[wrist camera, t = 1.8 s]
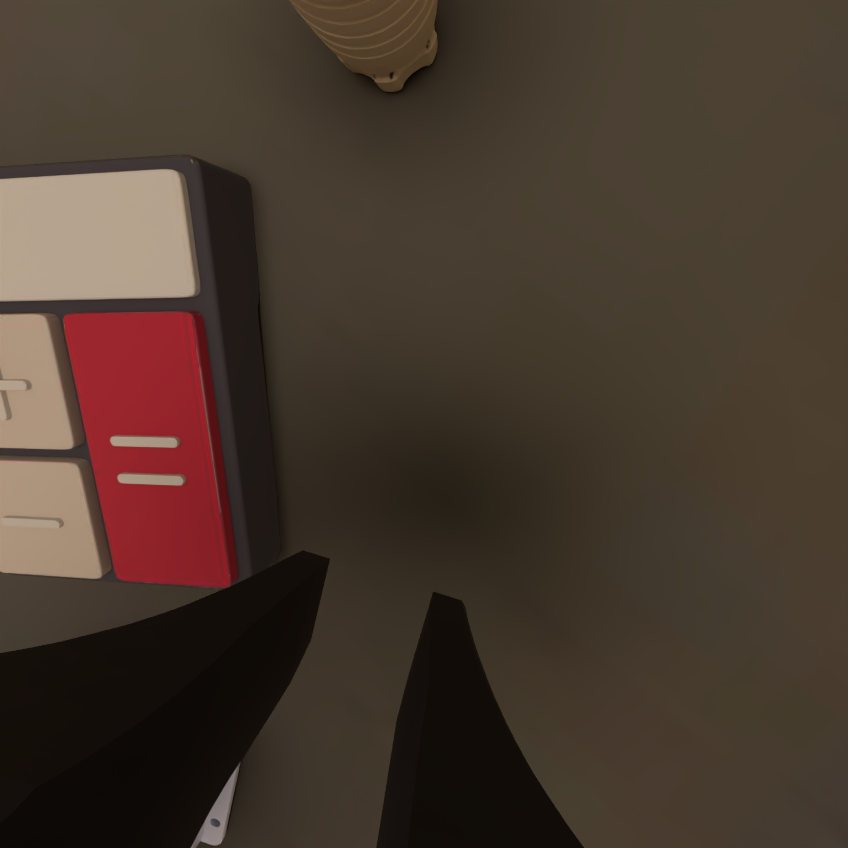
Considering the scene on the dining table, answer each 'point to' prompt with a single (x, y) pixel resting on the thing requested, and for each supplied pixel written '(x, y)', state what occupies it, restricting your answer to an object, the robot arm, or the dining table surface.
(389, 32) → the handle
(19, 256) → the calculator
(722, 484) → the dining table surface
